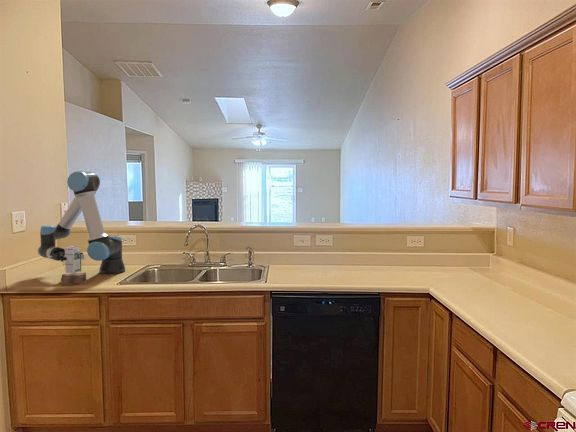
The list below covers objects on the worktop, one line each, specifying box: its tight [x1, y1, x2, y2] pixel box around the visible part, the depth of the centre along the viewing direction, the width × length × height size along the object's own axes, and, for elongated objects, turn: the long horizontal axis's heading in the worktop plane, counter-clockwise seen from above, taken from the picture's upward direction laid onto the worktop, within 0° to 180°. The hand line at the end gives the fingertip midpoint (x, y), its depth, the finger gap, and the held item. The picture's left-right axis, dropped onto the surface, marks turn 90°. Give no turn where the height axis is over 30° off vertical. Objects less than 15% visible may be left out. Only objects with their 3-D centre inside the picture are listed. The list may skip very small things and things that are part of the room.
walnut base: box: [60, 272, 87, 287], centre depth 219 cm, size 12×12×4 cm
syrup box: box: [64, 245, 82, 274], centre depth 218 cm, size 6×6×14 cm
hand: (77, 258), depth 215 cm, fingers closed on syrup box, 7 cm apart
